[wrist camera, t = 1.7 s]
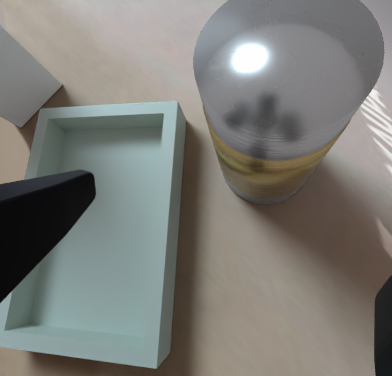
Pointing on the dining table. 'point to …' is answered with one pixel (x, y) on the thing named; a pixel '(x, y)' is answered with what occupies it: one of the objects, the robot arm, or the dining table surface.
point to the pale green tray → (106, 237)
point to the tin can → (283, 86)
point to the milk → (22, 81)
